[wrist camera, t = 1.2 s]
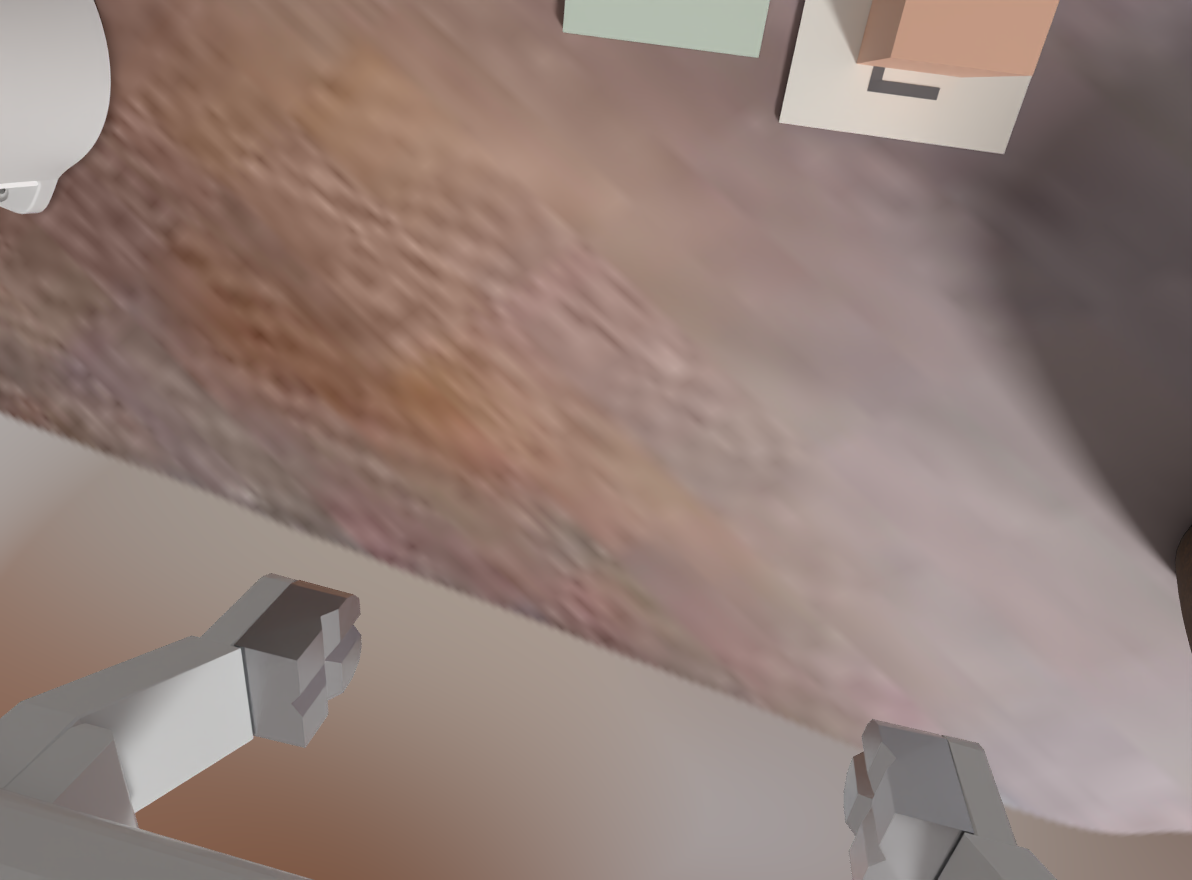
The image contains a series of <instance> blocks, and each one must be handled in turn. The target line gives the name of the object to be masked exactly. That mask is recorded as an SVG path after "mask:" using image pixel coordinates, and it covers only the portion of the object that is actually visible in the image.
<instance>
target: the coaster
mask: <svg viewBox="0 0 1192 880" xmlns="http://www.w3.org/2000/svg"><path fill="white" fill-rule="evenodd" d="M769 2H770V0H565V10H564V22H563V32H565V33H572V34H580V35H587V36H595V37H603V38H610V39H618V40H626V41H633V42H641V43H649V44H656V45H664V46H672V47H679V48H687V49H695V50H702V51H710V52H718V53H726V54H733V55H741V56H749V57H756V58H758V57H759V52H760V47H761V42H762V37H763V32H764V27H765V22H766V17H767V12H768V7H769Z"/></svg>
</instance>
